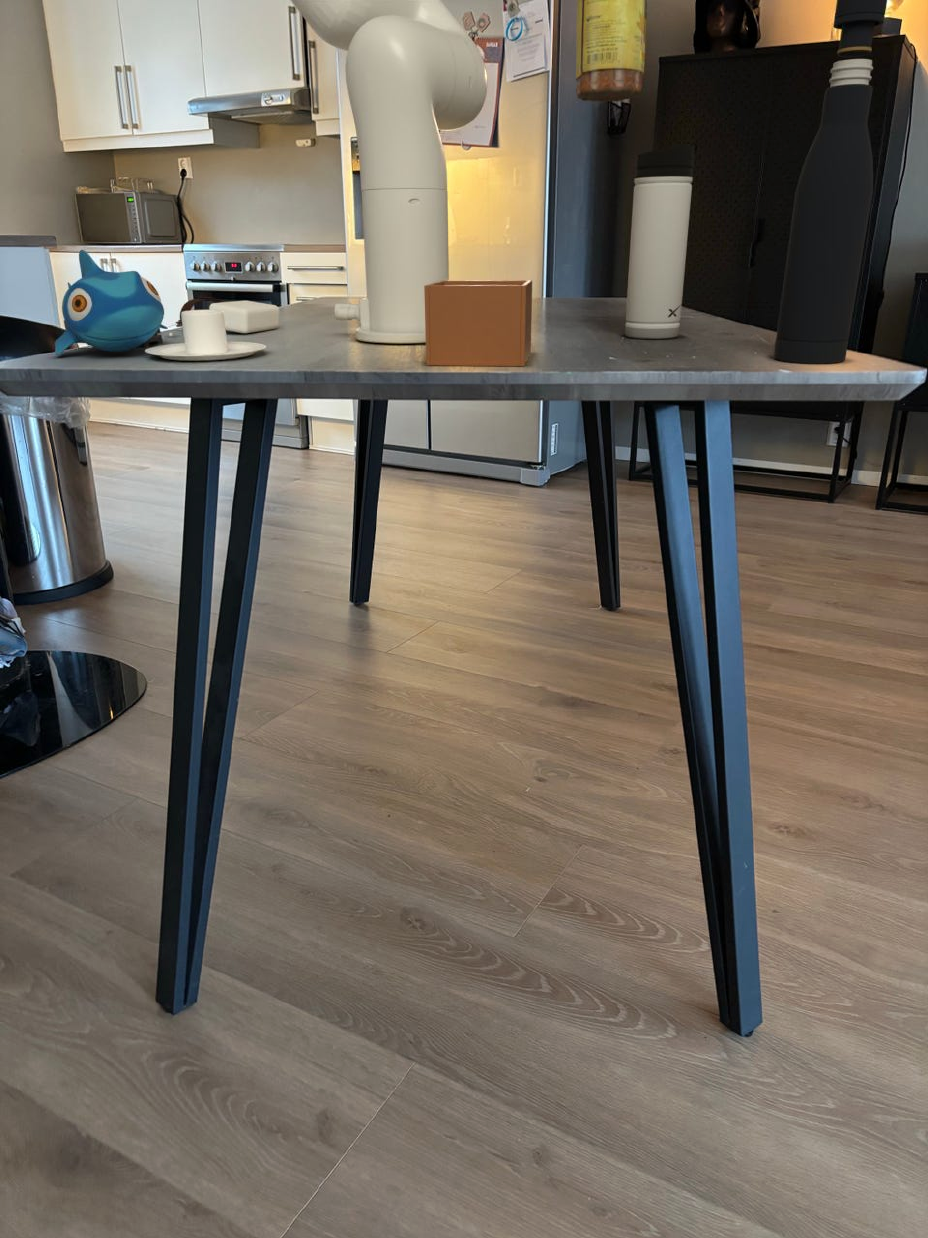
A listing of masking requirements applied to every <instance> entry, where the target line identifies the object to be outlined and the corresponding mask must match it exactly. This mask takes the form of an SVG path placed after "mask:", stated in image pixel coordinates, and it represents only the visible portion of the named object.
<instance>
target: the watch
mask: <svg viewBox="0 0 928 1238" xmlns="http://www.w3.org/2000/svg"><path fill="white" fill-rule="evenodd" d="M203 301H205V302H213V303H222V302H223V301H222V300H221V299H218V298H215V297H212V296H196V298H193V299H190V300H188V301H186V302H184V304H183V305H182V306H181V308H180V311H179V320H180V322H181V324H182V319H181V312H183V311H190V310H193V307H194V306H195V305H196V304H198V303H199V302H203Z"/></svg>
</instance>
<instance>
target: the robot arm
mask: <svg viewBox="0 0 928 1238" xmlns="http://www.w3.org/2000/svg"><path fill="white" fill-rule="evenodd" d="M290 2H291V3H292V4H293V5H294V7H295V8H296V9H297V11H298V12H299V13H300V15H301V16H302V17H303V18H304V20H305V21H306V23H307V24H308V25H309V26H310V28H311V29H312V30H313V32H314V33H315V34H316V35H317V36H318V37H319V38H320V39H321V40H322V41H323V42H325V43H327V45H330V46H332V47H334V48H336V49H340V50H343V51H346V57H345V82H346V89H347V94H348V99H349V104H350V108H351V113H352V114H351V115H352V118H353V123H354V129H355V133H356V141H357V151H358V163H359V180H360V192H361V206H362V224H363V225H362V226H363V227H362V228H363V230H362V231H363V247H364V248H363V249H364V269H365V285H366V286H365V287H366V297H361V298H359V299H358V303H350V302H336V303H335V305H334V317H335V319H336V321H352V320H357V322H359V324H360V327H358V328H357V327H356V328H355V332H354V333H355V334H354V335H355V336H354V337H355V339H356V340H358V341H359V342H367V343H377V344H426V332H425V293H424V286H425V285H428V284H431V283H435V282H438V281H450V274H449V272H450V271H449V270H450V269H449V268H450V267H449V266H450V265H449V264H450V263H449V262H450V261H449V206H448V205H449V203H448V199H449V198H448V193H449V191H448V169H447V161H446V155H445V154H446V153H445V150H444V145H443V141H442V138H441V134H440V131H455V130H459V129H462V128H465V127H467V126H468V125H469V124H471V123H472V122H473V121H474V120H475V119H476V118H478V116H479V114H480V113H481V111H482V109H483V108H484V105H485V102H486V98H487V93H488V73H487V68H486V64H485V61H484V58H483V56H482V54H481V52H480V49H479V48H478V46H477V45H476V43H475V42H474V40H473V39H472V38H471V37H470V35H469V34H468V33H467V31H466V30H465V28H463V26H462V25H461V24H460V23H459V21H458V20H457V19H456V17H455V16H454V15H453V14H452V12H451V11H450V10H449V9H448V8H447V6H446V5H445V4H444V2H443V1H442V0H290Z"/></svg>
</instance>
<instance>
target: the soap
mask: <svg viewBox="0 0 928 1238" xmlns="http://www.w3.org/2000/svg"><path fill="white" fill-rule="evenodd" d="M208 310H221V311H223V313H224V320H225V329H226V332H228V331H229V332H235V333H240V334H249V333H257V332H263V331H270V330H277V329H278V328H279V325H280V308H279V307H278V306H277V305H275V304H270V303H263V302H257V301H251V300H237V301H236V300H235V301H222V303H214V302H213V303H211V304H210V305H209V307H208Z"/></svg>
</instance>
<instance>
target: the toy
mask: <svg viewBox="0 0 928 1238" xmlns="http://www.w3.org/2000/svg"><path fill="white" fill-rule="evenodd" d="M78 262H79V267H80V275H81V278H79V279H78V280H77V281H75V282H74V283H72V284H71V283H70V282H67V290H66V292H65V293H64V295H63V298H62V303H61V312H62V317H63V321H64V320H65V323H66V326H67V328H66V330H65V329H64V332H63V333H62V334H61V335H60V336H59V337H58V338H57V339H56V340H55V342H54V346H55V348H54V349H55V350H54V352H55V353H54V354H55V356H59V355H60V354H62V353H63V352H64V351H65V350H67V349H68V348H69V347H70V346H72V345H73V344H77V343H76V342H83V343H82V344H86V345H87V346H90V347H92V348H94V349H98V350H100V351H105V352H113V353H119V352H120V353H121V352H126V351H131V350H134V349H135V348H139V347H138V346H140V345H141V344H143V343H145V342H146V341H147V340H149V339H150V338H151V337H152V336H153V335H154V334H155V333H156V332H157V330H158V329H159V328H160V329H162V330H163V329H164V330H168V328H169V327H168V326H166V325H163V320H164V316H165V308H164V305H163V303H162V300H161V296H160V294H159V291H158V290H157V289H156V287H155V286H154V285H153V284H152V283H151V282H150V281H149V280H148V279H146V278H145V277H143V276H142V275H140V273H139V271H137V270H128V271H106V270H103V268H101V267H100V266H99V265H98V264H97V263H96V262H95V260H94V259H93V258H92V257H91V255H90V254H89V253H88V252H87V251H86V250H84V249H80V250H79V252H78Z"/></svg>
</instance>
